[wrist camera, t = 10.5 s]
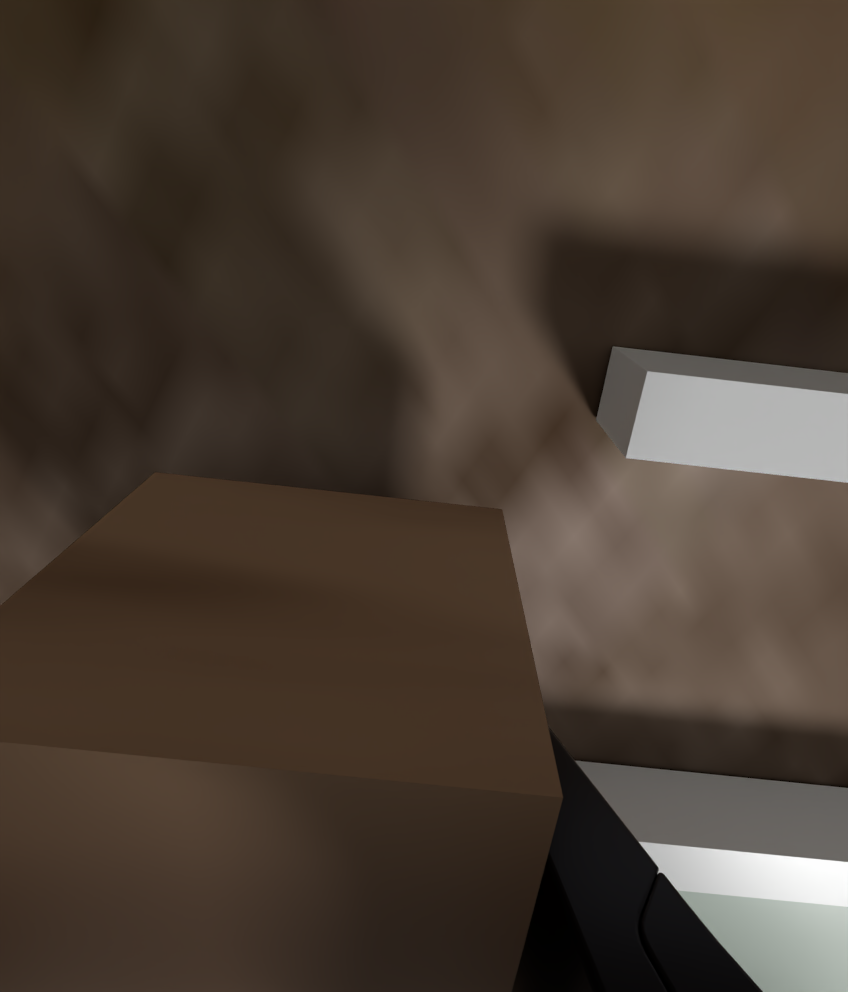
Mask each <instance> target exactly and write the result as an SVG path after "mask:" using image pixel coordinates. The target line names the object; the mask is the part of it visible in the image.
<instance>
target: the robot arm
mask: <svg viewBox="0 0 848 992" xmlns="http://www.w3.org/2000/svg"><path fill="white" fill-rule="evenodd" d="M548 729H549V733H550V738H551V743H552V747H553V752H554V757H555V762H556V766H557V771H558V776H559V780H560V785H561V790H562V795H563V800H562V804H561V808H560V811H559V815H558V819H557V823H556V827H555V830H554V834H553V838H552V842H551V845H550V849H549V853H548V857H547V860H546V864H545V868H544V872H543V876H542V879H541V883H540V887H539V891H538V894H537V898H536V902H535V906H534V910H533V913H532V917H531V921H530V925H529V928H528V932H527V936H526V940H525V944H524V947H523V951H522V955H521V959H520V962H519V966H518V970H517V974H516V977H515V981H514V985H513V989H512V992H763V991H762V990H761V989H760V988H759V986H758V985H757V984H756V983H755V982H754V981H753V980H752V979H751V977H750V976H749V975H748V974H747V973H746V972H745V971H744V970H743V968H742V967H741V966H740V965H739V964H738V963H737V962H736V961H735V960H734V958H733V957H732V956H731V955H730V954H729V953H728V952H727V951H726V949H725V948H724V947H723V946H722V945H721V944H720V943H719V942H718V940H717V939H716V938H715V937H714V936H713V934H712V933H711V932H710V931H709V929H708V928H707V927H706V926H705V925H704V923H703V922H702V921H701V920H700V918H699V917H698V916H697V915H696V914H695V912H694V911H693V910H692V909H691V907H690V906H689V905H688V904H687V903H686V901H685V900H684V899H683V898H682V896H681V895H680V894H679V893H678V891H677V890H676V889H675V887H674V886H673V885H672V884H671V882H670V881H669V880H668V878H667V877H666V876H665V875H664V874H663V873H661V872H660V873H658V871H659V868H658V866H657V865H656V864H655V862H654V861H653V860H652V858H651V857H650V856H649V855H648V853H647V852H646V851H645V849H644V848H643V847H642V846H641V844H640V843H639V842H638V841H637V839H636V838H635V837H634V835H633V834H632V833H631V832H630V830H629V829H628V828H627V826H626V825H625V824H624V823H623V821H622V820H621V819H620V817H619V816H618V815H617V814H616V812H615V811H614V810H613V809H612V807H611V806H610V805H609V803H608V802H607V801H606V800H605V798H604V797H603V796H602V794H601V793H600V792H599V791H598V789H597V788H596V787H595V786H594V784H593V783H592V782H591V780H590V779H589V778H588V777H587V775H586V774H585V773H584V771H583V770H582V769H581V768H580V766H579V765H578V764H577V763H576V761H575V760H574V759H573V757H572V756H571V755H570V754H569V752H568V751H567V750H566V748H565V747H564V746H563V745H562V743H561V742H560V741H559V740H558V738H557V737H556V736H555V734H554V733H553V732H552V731H551V729H550V728H549V727H548Z"/></svg>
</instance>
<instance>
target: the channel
mask: <svg viewBox="0 0 848 992" xmlns="http://www.w3.org/2000/svg"><path fill="white" fill-rule="evenodd" d="M596 421H597V422H598V423H599V425H600V426H601V427H602V429H603V430H604V431H605V432H606V434H607V435H608V436H609V437H610V439H611V440H612V441H613V443H614V444H615V445H616V446H617V448H618V449H619V450H620V451H621V453H622V454H623V455H624V456H625V458H630V459H639V460H648V461H657V462H666V463H675V464H684V465H693V466H702V467H712V468H721V469H730V470H739V471H748V472H757V473H766V474H775V475H784V476H793V477H802V478H811V479H820V480H829V481H838V482H847V483H848V373H842V372H833V371H824V370H815V369H807V368H798V367H789V366H780V365H772V364H763V363H754V362H745V361H737V360H728V359H719V358H711V357H702V356H693V355H684V354H676V353H667V352H658V351H649V350H641V349H632V348H623V347H614V346H613V347H612V351H611V356H610V360H609V365H608V369H607V374H606V378H605V382H604V387H603V391H602V396H601V400H600V405H599V409H598V414H597V418H596ZM576 763H577V764H578V765H579V766H580V768H581V769H582V770H583V771H584V773H585V774H586V775H587V777H588V778H589V779H590V780H591V782H592V783H593V784H594V786H595V787H596V788H597V789H598V791H599V792H600V793H601V794H602V796H603V797H604V798H605V800H606V801H607V802H608V803H609V805H610V806H611V807H612V809H613V810H614V811H615V812H616V814H617V815H618V816H619V817H620V819H621V820H622V821H623V823H624V824H625V825H626V826H627V828H628V829H629V830H630V832H631V833H632V834H633V835H634V837H635V838H636V839H637V841H638V842H639V843H640V844H641V846H642V847H643V848H644V849H645V851H646V852H647V853H648V855H649V856H650V857H651V858H652V860H653V861H654V862H655V864H656V865H657V866H658V868H659V871H658V873H660V872H661V873H663V874H664V875H665V876H666V877H667V878H668V880H669V881H670V882H671V884H672V885H673V886H674V887H675V889H676V890H678V891H689V892H699V893H709V894H720V895H730V896H740V897H751V898H761V899H772V900H782V901H792V902H803V903H813V904H823V905H834V906H844V907H848V788H843V787H833V786H823V785H813V784H804V783H794V782H784V781H774V780H764V779H754V778H744V777H734V776H724V775H714V774H704V773H694V772H684V771H674V770H664V769H654V768H644V767H634V766H624V765H614V764H604V763H594V762H584V761H576Z"/></svg>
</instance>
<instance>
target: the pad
mask: <svg viewBox="0 0 848 992" xmlns="http://www.w3.org/2000/svg"><path fill="white" fill-rule="evenodd" d="M677 891H678V890H677ZM678 893H679V894H680V895H681V896H682V898H683V899H684V900H685V901H686V903H687V904H688V905H689V906H690V907H691V909H692V910H693V911H694V912H695V914H696V915H697V916H698V917H699V918H700V920H701V921H702V922H703V923H704V925H705V926H706V927H707V928H708V929H709V931H710V932H711V933H712V934H713V936H714V937H715V938H716V939H717V940H718V942H719V943H720V944H721V945H722V946H723V947H724V948H725V949H726V951H727V952H728V953H729V954H730V955H731V956H732V957H733V958H734V960H735V961H736V962H737V963H738V964H739V965H740V966H741V967H742V968H743V970H744V971H745V972H746V973H747V974H748V975H749V976H750V977H751V979H752V980H753V981H754V982H755V983H756V984H757V985H758V986H759V988H760V989H761V990H762V991H763V992H848V907H844V906H834V905H823V904H813V903H803V902H792V901H782V900H772V899H761V898H751V897H740V896H730V895H720V894H709V893H699V892H689V891H678Z"/></svg>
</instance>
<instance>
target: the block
mask: <svg viewBox="0 0 848 992" xmlns="http://www.w3.org/2000/svg"><path fill="white" fill-rule="evenodd" d="M562 800H563V795H562V790H561V785H560V780H559V776H558V771H557V766H556V762H555V757H554V752H553V747H552V743H551V738H550V733H549V729H548V724H547V719H546V714H545V710H544V705H543V700H542V696H541V691H540V686H539V681H538V677H537V672H536V667H535V663H534V658H533V653H532V648H531V644H530V639H529V634H528V630H527V625H526V620H525V615H524V611H523V606H522V601H521V597H520V592H519V587H518V583H517V578H516V573H515V568H514V564H513V559H512V554H511V550H510V545H509V540H508V535H507V531H506V526H505V521H504V517H503V512H502V509H494V508H485V507H475V506H466V505H457V504H447V503H438V502H429V501H419V500H410V499H401V498H391V497H382V496H373V495H363V494H354V493H345V492H335V491H326V490H317V489H307V488H298V487H289V486H279V485H270V484H261V483H251V482H242V481H233V480H223V479H214V478H205V477H195V476H186V475H177V474H167V473H158V472H155V473H154V474H153V475H151V476H150V477H149V478H148V479H147V480H146V481H144V482H143V483H142V484H141V485H140V486H139V487H138V488H136V489H135V490H134V491H133V492H132V493H131V494H129V495H128V496H127V497H126V498H125V499H124V500H122V501H121V502H120V503H119V504H118V505H117V506H115V507H114V508H113V509H112V510H111V511H110V512H109V513H107V514H106V515H105V516H104V517H103V518H102V519H100V520H99V521H98V522H97V523H96V524H95V525H93V526H92V527H91V528H90V529H89V530H88V531H86V532H85V533H84V534H83V535H82V536H81V537H80V538H78V539H77V540H76V541H75V542H74V543H73V544H71V545H70V546H69V547H68V548H67V549H66V550H64V551H63V552H62V553H61V554H60V555H59V556H57V557H56V558H55V559H54V560H53V561H52V562H51V563H49V564H48V565H47V566H46V567H45V568H44V569H42V570H41V571H40V572H39V573H38V574H37V575H35V576H34V577H33V578H32V579H31V580H30V581H28V582H27V583H26V584H25V585H24V586H23V587H22V588H20V589H19V590H18V591H17V592H16V593H15V594H13V595H12V596H11V597H10V598H9V599H8V600H6V601H5V602H4V603H3V604H2V605H1V606H0V992H512V989H513V985H514V981H515V977H516V974H517V970H518V966H519V962H520V959H521V955H522V951H523V947H524V944H525V940H526V936H527V932H528V928H529V925H530V921H531V917H532V913H533V910H534V906H535V902H536V898H537V894H538V891H539V887H540V883H541V879H542V876H543V872H544V868H545V864H546V860H547V857H548V853H549V849H550V845H551V842H552V838H553V834H554V830H555V827H556V823H557V819H558V815H559V811H560V808H561V804H562Z"/></svg>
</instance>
